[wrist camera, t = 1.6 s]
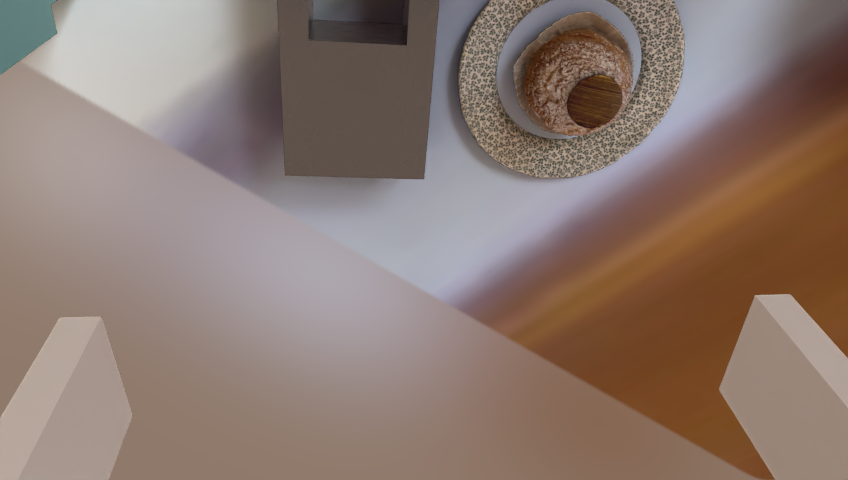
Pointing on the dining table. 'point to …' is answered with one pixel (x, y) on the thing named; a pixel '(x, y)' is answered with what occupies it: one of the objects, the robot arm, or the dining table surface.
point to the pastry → (571, 85)
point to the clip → (23, 28)
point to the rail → (356, 92)
